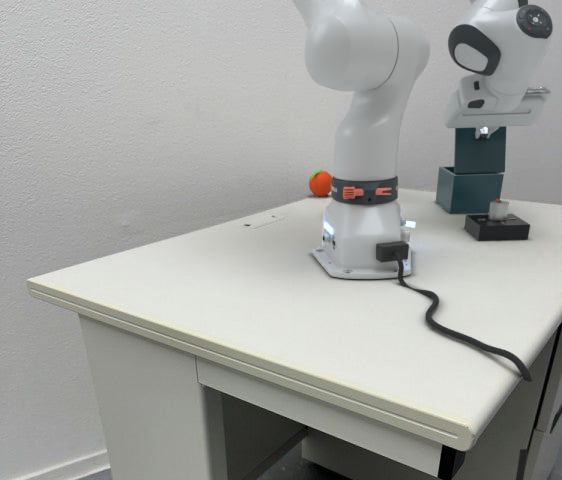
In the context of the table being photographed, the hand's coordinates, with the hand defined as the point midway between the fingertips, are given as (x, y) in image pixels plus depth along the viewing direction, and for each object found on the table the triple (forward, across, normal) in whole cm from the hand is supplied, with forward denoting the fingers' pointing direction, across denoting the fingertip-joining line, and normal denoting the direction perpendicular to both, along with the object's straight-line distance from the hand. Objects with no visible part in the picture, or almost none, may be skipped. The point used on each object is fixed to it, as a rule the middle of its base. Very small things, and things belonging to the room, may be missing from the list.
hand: (481, 135), depth 126 cm
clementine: (+29, +36, -5) cm, 47 cm away
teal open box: (+16, 0, +8) cm, 18 cm away
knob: (-5, +1, +25) cm, 26 cm away
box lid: (+1, 0, 0) cm, 1 cm away
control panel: (-3, +2, +27) cm, 28 cm away
